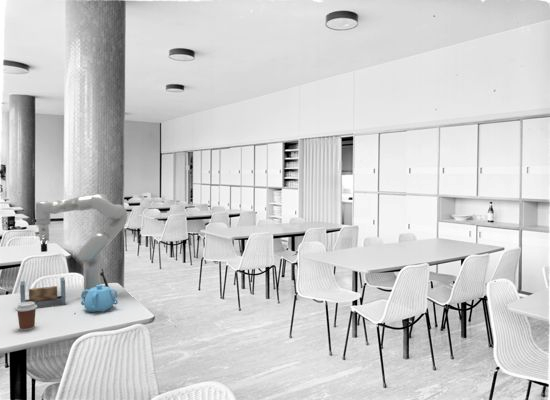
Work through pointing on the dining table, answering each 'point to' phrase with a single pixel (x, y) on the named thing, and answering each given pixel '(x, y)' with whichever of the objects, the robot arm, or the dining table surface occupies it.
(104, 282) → the phone stand
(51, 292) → the brown rectangular block
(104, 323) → the dining table surface
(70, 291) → the dining table surface
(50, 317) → the dining table surface
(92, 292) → the decorative pot
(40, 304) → the door track
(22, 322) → the coffee cup
